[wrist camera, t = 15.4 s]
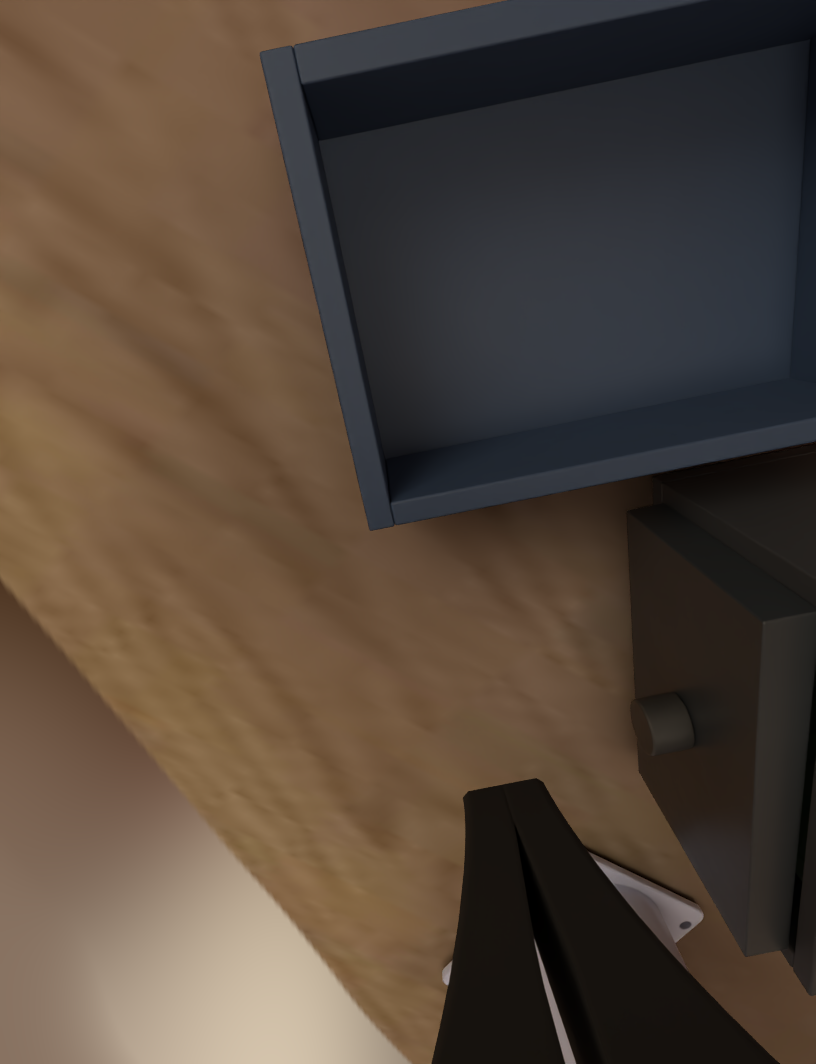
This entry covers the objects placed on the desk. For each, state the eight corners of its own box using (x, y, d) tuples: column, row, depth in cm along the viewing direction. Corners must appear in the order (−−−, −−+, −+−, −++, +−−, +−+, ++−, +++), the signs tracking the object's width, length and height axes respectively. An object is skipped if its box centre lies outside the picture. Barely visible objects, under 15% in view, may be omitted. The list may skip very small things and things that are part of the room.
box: (369, 476, 18) (369, 532, 14) (290, 124, 14) (258, 51, 10) (793, 390, 18) (929, 419, 13) (818, 14, 14) (1011, -107, 10)
